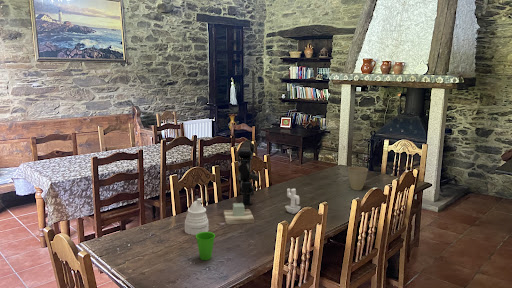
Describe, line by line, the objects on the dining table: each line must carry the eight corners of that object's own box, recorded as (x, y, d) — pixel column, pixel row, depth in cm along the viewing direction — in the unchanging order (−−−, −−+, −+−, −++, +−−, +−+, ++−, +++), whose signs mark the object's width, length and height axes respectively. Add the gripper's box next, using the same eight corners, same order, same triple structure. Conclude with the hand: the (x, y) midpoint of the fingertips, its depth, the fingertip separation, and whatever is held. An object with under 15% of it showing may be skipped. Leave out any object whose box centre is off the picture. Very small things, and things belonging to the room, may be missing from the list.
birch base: (223, 214, 237) (223, 210, 236) (249, 213, 240) (249, 209, 239) (226, 224, 221) (226, 220, 221) (254, 222, 224) (254, 218, 224)
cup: (196, 253, 185) (196, 231, 183) (215, 253, 186) (215, 231, 184) (195, 262, 176) (194, 239, 174) (215, 262, 177) (215, 239, 175)
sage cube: (232, 212, 232) (232, 203, 231) (242, 212, 234) (242, 202, 232) (234, 216, 227) (234, 206, 226) (244, 216, 228) (244, 206, 227)
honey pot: (212, 227, 216) (212, 196, 213) (201, 236, 204) (201, 203, 201) (191, 224, 220) (191, 193, 217) (180, 232, 208) (179, 200, 205)
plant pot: (369, 188, 297) (370, 168, 294) (363, 193, 284) (364, 172, 282) (350, 185, 305) (351, 165, 302) (343, 189, 292) (344, 169, 289)
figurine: (294, 215, 237) (295, 192, 234) (283, 211, 244) (283, 188, 241) (302, 212, 242) (303, 189, 239) (290, 208, 248) (291, 186, 246)
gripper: (260, 172, 228) (260, 198, 231) (255, 165, 246) (254, 188, 249) (241, 173, 226) (241, 199, 229) (237, 165, 244) (237, 189, 247)
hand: (244, 193), depth 239 cm, fingers open, 9 cm apart
